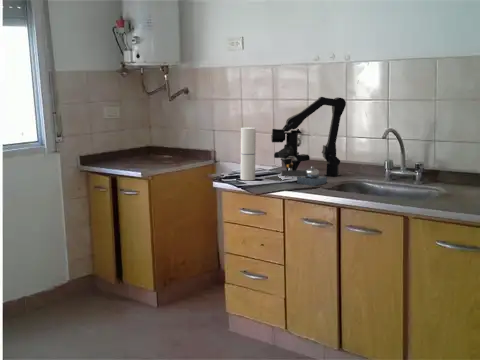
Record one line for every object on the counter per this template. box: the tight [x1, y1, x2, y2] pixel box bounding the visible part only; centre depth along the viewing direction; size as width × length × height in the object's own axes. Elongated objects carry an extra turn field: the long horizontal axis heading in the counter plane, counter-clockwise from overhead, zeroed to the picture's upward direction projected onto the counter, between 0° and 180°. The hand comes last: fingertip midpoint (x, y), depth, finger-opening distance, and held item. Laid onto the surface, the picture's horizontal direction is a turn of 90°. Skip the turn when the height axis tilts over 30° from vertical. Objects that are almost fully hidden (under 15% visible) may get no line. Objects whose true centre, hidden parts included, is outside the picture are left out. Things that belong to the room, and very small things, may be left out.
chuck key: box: [287, 163, 293, 170], centre depth 292 cm, size 6×3×6 cm, turn 136°
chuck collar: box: [280, 166, 320, 177], centre depth 270 cm, size 18×6×5 cm, turn 94°
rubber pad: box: [264, 174, 282, 182], centre depth 284 cm, size 10×10×1 cm
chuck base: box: [296, 175, 328, 187], centre depth 272 cm, size 10×10×3 cm
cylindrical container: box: [240, 126, 257, 181], centre depth 279 cm, size 7×7×25 cm
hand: (291, 173), depth 292 cm, fingers closed on chuck key, 3 cm apart
